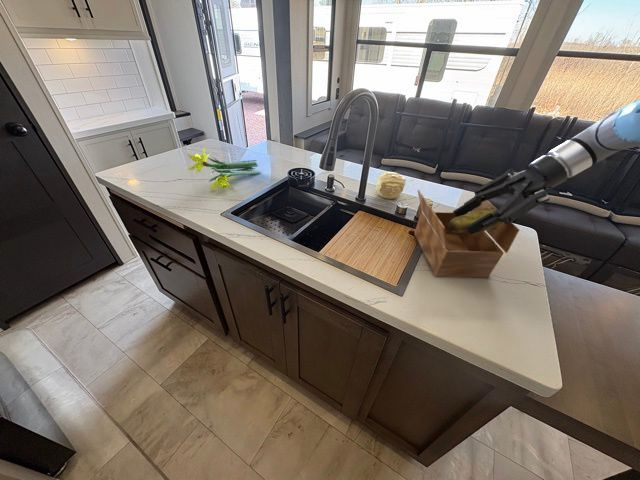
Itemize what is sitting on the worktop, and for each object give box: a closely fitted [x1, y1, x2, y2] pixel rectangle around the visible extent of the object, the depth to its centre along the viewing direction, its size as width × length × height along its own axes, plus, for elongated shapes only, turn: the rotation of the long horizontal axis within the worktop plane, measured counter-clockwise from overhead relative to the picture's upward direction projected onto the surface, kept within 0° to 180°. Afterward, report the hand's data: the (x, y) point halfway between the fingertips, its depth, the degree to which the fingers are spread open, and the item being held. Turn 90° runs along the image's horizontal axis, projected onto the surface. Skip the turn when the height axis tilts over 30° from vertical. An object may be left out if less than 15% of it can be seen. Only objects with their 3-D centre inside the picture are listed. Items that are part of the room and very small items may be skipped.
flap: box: [417, 189, 448, 250], centre depth 75 cm, size 21×8×1 cm
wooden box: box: [413, 196, 520, 278], centre depth 78 cm, size 21×17×17 cm
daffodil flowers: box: [187, 145, 261, 192], centre depth 113 cm, size 17×15×35 cm
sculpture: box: [375, 171, 406, 200], centre depth 111 cm, size 12×12×11 cm
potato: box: [448, 207, 502, 234], centre depth 68 cm, size 8×13×8 cm, turn 74°
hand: (461, 222), depth 68 cm, fingers closed on potato, 7 cm apart
